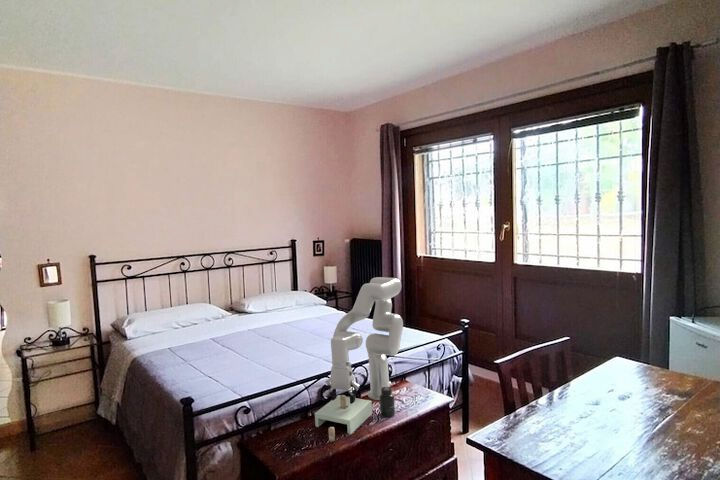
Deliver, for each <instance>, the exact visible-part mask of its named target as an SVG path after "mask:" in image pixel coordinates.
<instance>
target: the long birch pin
mask: <svg viewBox="0 0 720 480" xmlns="http://www.w3.org/2000/svg"><path fill="white" fill-rule="evenodd" d="M346 397H347V396H346V395H344V394H340V402H341V409H346Z"/></svg>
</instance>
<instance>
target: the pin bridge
mask: <svg viewBox="0 0 720 480" xmlns="http://www.w3.org/2000/svg"><path fill="white" fill-rule="evenodd" d="M336 396H337V398H336V399H335V400H333V401H332V399H330V401H329V402H327V403H326V404H325V405H324V406H322V407H321V408H320V409H318V410H317V411H316V412H314V422H315V423H314V424H315V427H316V428H319V427H321V425H323V424H324V423H325V422H327V421H329V422H333V423H339V424H343V425H347V426H346V427H347V434H348V435H352V434H353V433H354V432H355V431H356V430H357V429H358V428H359V427H360V426H361V425H362V424H363V423H364V422H365V421H366V420H367V419H368V418H369V417H370V416H371V415H372V414H373V405H372V403H373V402H372V400H369V399H363V398H356V397H355V402H354V403H352V404H350V396H346V409H341V402H340V396H341V394H338V395H336Z"/></svg>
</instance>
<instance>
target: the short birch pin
mask: <svg viewBox="0 0 720 480" xmlns="http://www.w3.org/2000/svg"><path fill="white" fill-rule="evenodd" d="M327 428H328V441H329V442H335V440H336V434H335V433H336V431H335V426H330V427H327Z"/></svg>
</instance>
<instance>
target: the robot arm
mask: <svg viewBox="0 0 720 480" xmlns="http://www.w3.org/2000/svg"><path fill="white" fill-rule="evenodd" d="M401 291H402V282H401V280H400V279H399V278H396V277H385V276H384V277H382V276H381V277H379V276H378V277H373V278H371V279H370V281H369V283H364V284H363V285H362V286H361V287H360V290H359V292H358V294H357V296H356V300H355V303H354V305H353V307H352V309H351V310H350V311H348V312H347V313H345V315H344V316H342V318H340V319H339V321H338V323H336V324H337V325H336V327H335V330H334V332H333V335H332V337H331V338H330V350H331V351H330V352H331V364H332V366H331V369H330V378H328V379H326V380H325V381H324V382H325V384H326V386H327V388H328V390H329V392H330V397H331V400H332V401H333V400H335V399H336V398H337V396H338V395H337V390H341V391H347V392H348V393H349V394H350V395H349V397H350V404H352V403H354V402H355V398H356V393H357V392H358V390H359V389H360V384H358V383H357V382H355V378H354V373H353V370H352V369H353V368H352V363H351V362H350V358H349V352H350V351H354V350H357V349H358V348H360V347H361V346H362V344H363V342H364V338H363V336H362V334H360V333H358V332H355V331H354V332H353V331H348V329H349V328H350V327H351V326H352V325H354V324H355V323H358V322H360V321H362V320H365V319H367V318H369V316H370V315H371V314H370V313H371V311H372V308H373V306H374V304H375V306H374V312H373V317H372V329H374V330H375V331H378V332H383V334H382V333H376V332H375V333H371V334H368V336H367V337H366V339H365V348H366V351H367V355H368V356H367V357H368V368H369V381H370V384H369V385H370V390H369V391H368V392H367V396H368V398H369V399H371V400H374V401H380V399H379V397H380V395H381V394H382V393H381V388H383V387H390V386H391V385H392V382H391V380H390V376H389V361H388V358H387V356H392V357H393V356H396V355H397V354H398V352H399V350H400V348H401V347H400V346H401V341H402V335H403V328H404V320H403V318H402V317H401V315H399V314H397V313H392V309H393V303H392V302H393V301H392V298H394V297H396V296H398V295H399V294H400V292H401ZM384 333H388V334H384ZM390 388H391V387H390ZM392 394H393V395H394V392H393V391H392Z"/></svg>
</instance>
